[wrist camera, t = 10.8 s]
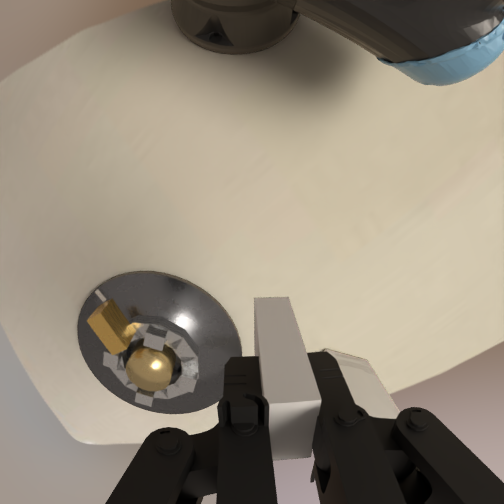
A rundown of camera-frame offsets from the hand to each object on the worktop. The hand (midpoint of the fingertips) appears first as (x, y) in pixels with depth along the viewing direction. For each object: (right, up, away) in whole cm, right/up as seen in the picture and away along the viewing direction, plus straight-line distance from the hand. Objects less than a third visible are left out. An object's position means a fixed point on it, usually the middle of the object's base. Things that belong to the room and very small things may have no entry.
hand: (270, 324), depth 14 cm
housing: (-14, -11, +28) cm, 33 cm away
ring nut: (-15, -9, +27) cm, 32 cm away
